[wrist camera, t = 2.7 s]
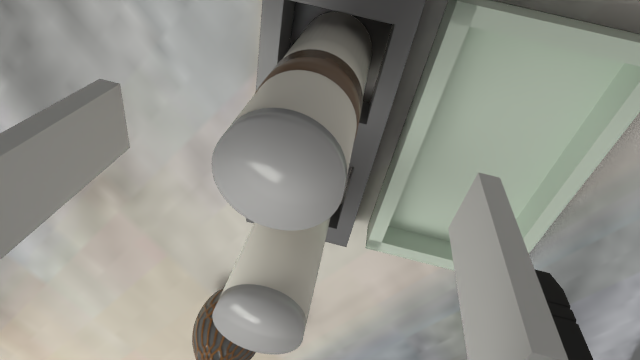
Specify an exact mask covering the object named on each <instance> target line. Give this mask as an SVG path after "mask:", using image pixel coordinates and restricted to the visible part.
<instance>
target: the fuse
mask: <svg viewBox="0 0 640 360" xmlns="http://www.w3.org/2000/svg"><path fill="white" fill-rule="evenodd" d="M330 218H331V217H330ZM330 218H329V219H327V220H326V221H324V222H323V223H321V224H319V225H317V226H315V227H312V228H309V229H304V230H296V231H285V230H277V229H272V228H269V227H265V226H262V225H260V224H257V223H254V225H253V227H252V229H251V231H250V233H249V236H248V238H247V240H246V242H245V244H244V246H243V248H242V251H241V253H240V255H239V257H238V259H237V261H236V264H235V266H234V268H233V270H232V272H231V274H230V276H229V279H228V281H227V283H226V285H225V287H224V289H223V291H222V294H221V296H220V298H219V300H218V302H217V304H216V307H215V309H214V311H213V315H212V318H213V322H214V325H215V327H216V328H217V330H218V331H219V332H220V333H221V334H222V335H223V336H224V337H225V338H227V339H228V340H229V341H231V342H233V343H234V344H236V345H238V346H240V347H242V348H245V349H247V350H250V351H254V352H258V353H263V354H284V353H288V352H291V351H293V350H295V349H297V348H298V347H299V346H300V344H301V343H302V340H303V336H304V331H305V327H306V322H307V318H308V314H309V309H310V305H311V301H312V296H313V292H314V287H315V283H316V279H317V274H318V270H319V266H320V261H321V257H322V253H323V248H324V244H325V239H326V235H327V231H328V226H329V222H330Z"/></svg>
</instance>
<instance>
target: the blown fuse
mask: <svg viewBox="0 0 640 360" xmlns="http://www.w3.org/2000/svg"><path fill="white" fill-rule="evenodd" d="M371 55H372V43H371V39H370V36H369V33H368V31H367V29H366V28H365V26H364V25H363V24H362V23H361V22H360V21H359V20H358V19H356V18H355V17H353V16H351V15H349V14H346V13H342V12H329V13H325V14H322V15H320V16H318V17H317V18H315V19H314V20H313V21H312V22H311V23H310V24H309V25H308V27H307V28H306V29H305V30H304V32H303V33H302V34H301V36H300V37H299V38H298V39H297V41H296V42H295V43H294V45H293V46H292V47H291V48H290V50H289V51H288V52H287V54H286V55H285V56H284V57H283V59H282V60H280V61H279V63H278V64H277V65H276V66H275V67H274V68H273V70H272V71H271V72H270V73H269V75H268V76H267V77H266V79H265V80H264V81H263V82H262V84H261V85H260V86H259V88H258V89H257V91H256V92H255V95H254V96H253V97H252V99H251V100H250V101H249V102H248V104H247V105H246V106H245V108H244V109H243V110H242V111H241V113H240V114H239V115H238V117H237V118H236V119H235V120H234V122H233V123H232V124H231V126H230V127H229V128H228V129H227V131H226V132H225V133H224V135H223V136H222V137H221V139H220V140H219V142H218V143H217V145H216V147H215V149H214V152H213V156H212V173H213V177H214V180H215V183H216V185H217V187H218V189H219V191H220V193H221V194H222V196H223V197H224V199H225V200H226V201H227V202H228V203H229V204H230V205H231V206H232V207H233V208H234V209H235V210H236V211H237V212H239V213H240V214H241V215H243V216H244V217H246V218H247V219H249V220H251V221H253V222H255V223H257V224H260V225H262V226H265V227H269V228H272V229H277V230H285V231H296V230H304V229H309V228H312V227H315V226H317V225H319V224H321V223H323V222H324V221H326V220H327V219H329V218H330V217H331V216H332V215H333V214H334V213H335V211H336V210H337V209H338V207H339V205H340V203H341V201H342V198H343V194H344V189H345V184H346V179H347V174H348V169H349V164H350V159H351V154H352V149H353V144H354V141H355V138H356V135H357V130H358V125H359V120H360V115H361V110H362V105H363V95H364V90H365V85H366V80H367V75H368V70H369V65H370V60H371Z"/></svg>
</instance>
